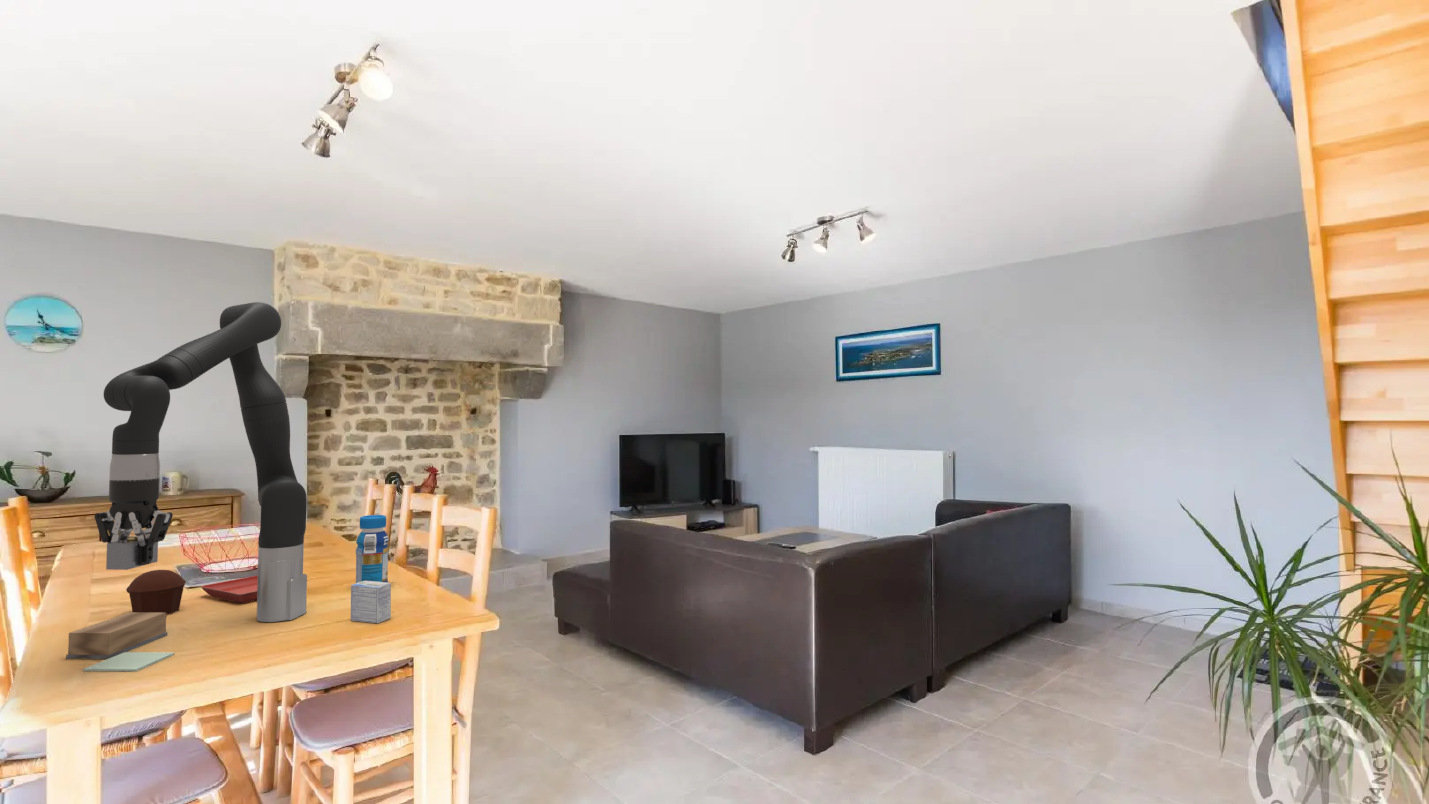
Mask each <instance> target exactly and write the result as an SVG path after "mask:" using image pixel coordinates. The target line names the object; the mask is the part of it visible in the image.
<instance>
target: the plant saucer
mask: <svg viewBox="0 0 1429 804" xmlns="http://www.w3.org/2000/svg"><path fill="white" fill-rule="evenodd" d="M257 580H258V574H257V575H252V576H247V577H240V578H237V579H231V580H225V581H221V582H216V583H211V584H204V585H201V586H200V587H201V589H202V590H203V591H204V592H205V593H206V594H208V596H210V597H212V598H217V599H220V600H225V601H229V602H234V603H240V604H245V603H251V602H255V601H257ZM308 581H309V580H308V579H307V582H308Z"/></svg>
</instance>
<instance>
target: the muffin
mask: <svg viewBox="0 0 1429 804" xmlns="http://www.w3.org/2000/svg"><path fill="white" fill-rule="evenodd" d="M186 583H187V580H185V579H184V578H183V577H182V576H181V575H180V573H177V572H174V571H172V570H170V569H155V570H150V571H147V572H143V573H141V574H140V575H138V576H136V577H135V578H134V579H133V580H132V581H131V582H130V584H128V585H129V586H127V587H126V588H125V590H126V592H127V593H128V594H129V599H130V604H131V611H132V612H155V613H166V616H167V615H172V614H174V613H176V612H178V611H180V606H181V603H182V598H183V592H184V587H185V585H186Z"/></svg>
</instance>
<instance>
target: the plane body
mask: <svg viewBox="0 0 1429 804" xmlns="http://www.w3.org/2000/svg"><path fill="white" fill-rule="evenodd" d="M166 636H168V631H167V615H166V613H155V612H130V611H129V612H127V613H123V614H120V615H117V616H114V617H111V618H109V619H106V620H103V621H100V622H97V623H94V624H92V625H87V626H85V627H82V628H79V629H75V630H73V631H71V632H68V644H67V647H68V648H67V649H68V650H67V651H68V653H67V654H66V655H65V659H66V660H69V659H70V660H74V659H75V660H80V659H82V660H87V659H88V660H102V659H103V660H107V659H109V658H111V657H114V656H116V655H119V654H121V653H124V652H131V651H132V650H135V649H137V648H139V647H142V646H144V645H146V644H149V643H151V642H152V643H153V642H154V641H157V640H159V639H161V638H164V637H166Z"/></svg>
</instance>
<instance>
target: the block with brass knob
mask: <svg viewBox="0 0 1429 804" xmlns="http://www.w3.org/2000/svg"><path fill="white" fill-rule="evenodd" d="M146 539H147V538H146ZM139 547H140V545H139V542H138V538H137V536H136V535H132V536H129V537H127V539H125V540H120V541H115V542H111V543H107V542H106V558H105V559H106V563H105V566H106V569H105V570H113V571H114V570H115V571H116V570H118V571H122V570H123V571H124V570H125V571H127V570H132V569H135V568H139V567H143V566H144V565H138V552H139ZM158 554H159V542H156V543H155V544H154V545H153V559H152V561H151V562H150V564H154V563H158V561H159V560H158V559H159V558H158V556H159V555H158ZM150 564H149V565H150Z"/></svg>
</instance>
